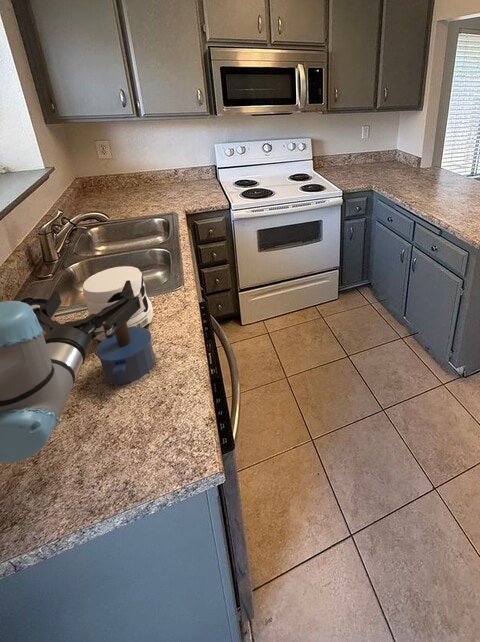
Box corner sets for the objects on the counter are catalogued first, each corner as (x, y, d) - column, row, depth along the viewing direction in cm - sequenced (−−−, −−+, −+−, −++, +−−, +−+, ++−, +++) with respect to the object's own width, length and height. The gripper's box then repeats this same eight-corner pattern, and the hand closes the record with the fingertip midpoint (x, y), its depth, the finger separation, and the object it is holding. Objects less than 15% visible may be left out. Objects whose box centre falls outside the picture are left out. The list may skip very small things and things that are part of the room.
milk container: (102, 317, 117) (89, 269, 111) (158, 308, 121) (149, 261, 115) (84, 353, 101) (68, 299, 95) (150, 341, 106) (138, 288, 100)
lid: (91, 369, 86) (81, 338, 83) (104, 336, 97) (96, 307, 94) (148, 357, 89) (141, 326, 86) (154, 326, 101) (148, 298, 98)
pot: (97, 400, 86) (89, 374, 84) (113, 352, 102) (107, 328, 99) (150, 387, 90) (144, 362, 87) (158, 343, 105) (153, 320, 102)
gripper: (-30, 397, 56) (31, 317, 75) (145, 360, 62) (160, 295, 82) (-47, 358, 53) (20, 286, 72) (137, 324, 60) (154, 266, 79)
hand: (94, 291), depth 77 cm, fingers open, 13 cm apart
